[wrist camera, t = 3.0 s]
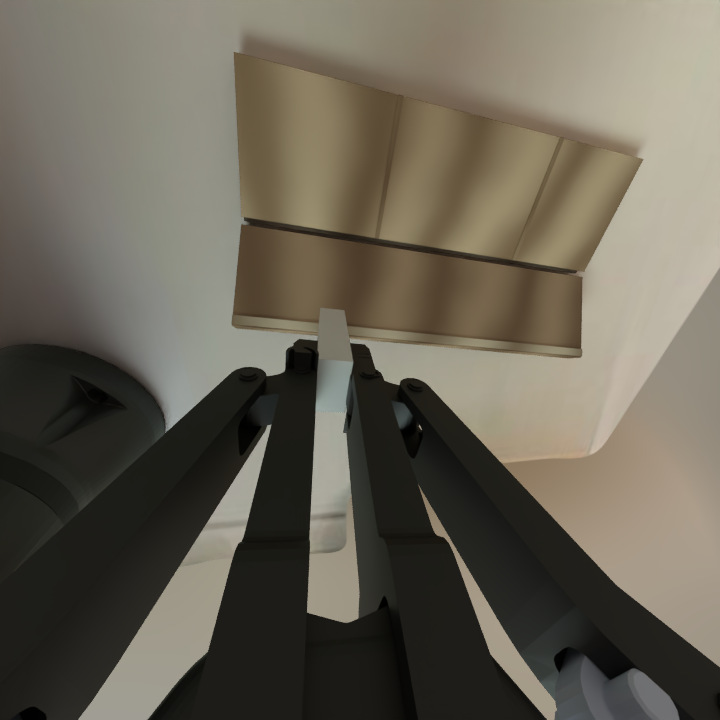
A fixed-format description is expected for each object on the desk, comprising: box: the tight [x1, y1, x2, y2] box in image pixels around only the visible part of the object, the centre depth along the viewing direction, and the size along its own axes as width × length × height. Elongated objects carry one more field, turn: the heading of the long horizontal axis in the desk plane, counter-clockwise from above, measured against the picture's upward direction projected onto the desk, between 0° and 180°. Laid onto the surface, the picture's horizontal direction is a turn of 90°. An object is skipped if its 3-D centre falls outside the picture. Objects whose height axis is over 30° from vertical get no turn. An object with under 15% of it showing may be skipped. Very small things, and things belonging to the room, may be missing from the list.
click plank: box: [232, 224, 582, 358], centre depth 22 cm, size 28×7×1 cm
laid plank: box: [234, 52, 643, 273], centre depth 20 cm, size 28×8×1 cm, turn 81°
